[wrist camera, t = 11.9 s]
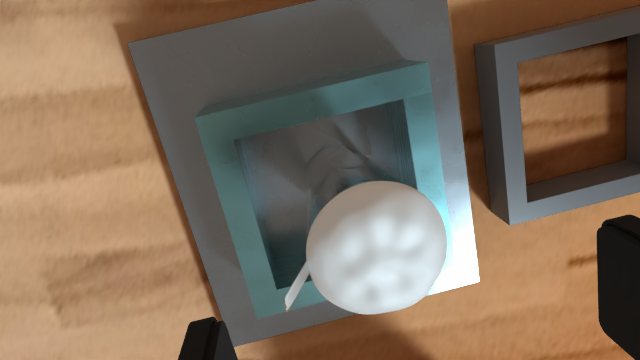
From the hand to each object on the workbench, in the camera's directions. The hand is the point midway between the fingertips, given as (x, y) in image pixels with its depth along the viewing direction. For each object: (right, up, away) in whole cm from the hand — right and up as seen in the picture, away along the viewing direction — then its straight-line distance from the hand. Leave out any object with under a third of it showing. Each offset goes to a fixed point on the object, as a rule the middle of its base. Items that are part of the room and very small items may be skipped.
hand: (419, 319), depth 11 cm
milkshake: (-2, +3, +11) cm, 12 cm away
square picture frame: (+10, +7, +12) cm, 18 cm away
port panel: (-2, +4, +12) cm, 13 cm away
